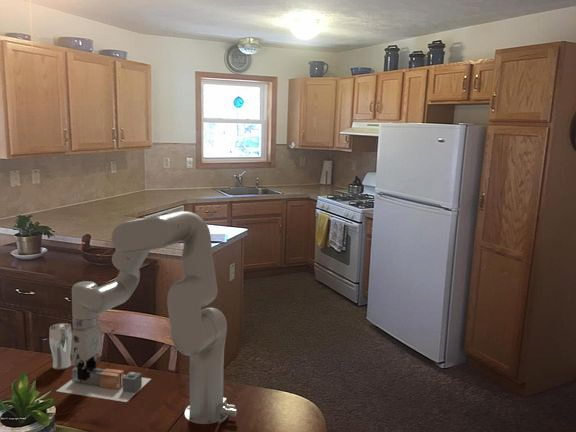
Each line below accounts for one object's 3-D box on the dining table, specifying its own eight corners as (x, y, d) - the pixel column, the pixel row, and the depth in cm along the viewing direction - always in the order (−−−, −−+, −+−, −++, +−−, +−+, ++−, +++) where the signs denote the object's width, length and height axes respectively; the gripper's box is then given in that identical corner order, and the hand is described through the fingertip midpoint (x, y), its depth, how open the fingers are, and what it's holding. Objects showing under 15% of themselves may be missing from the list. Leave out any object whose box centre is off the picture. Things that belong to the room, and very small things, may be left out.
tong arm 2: (124, 382, 156) (124, 370, 156) (121, 385, 154) (120, 373, 154) (79, 376, 159) (78, 364, 159) (75, 379, 158) (74, 367, 157)
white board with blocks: (151, 382, 160) (151, 364, 159) (126, 405, 146) (126, 386, 145) (85, 372, 165) (85, 355, 164) (55, 394, 151) (55, 375, 150)
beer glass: (64, 374, 164) (62, 331, 162) (46, 372, 165) (44, 329, 163) (77, 365, 171) (75, 324, 168) (59, 363, 172) (57, 322, 170)
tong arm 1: (120, 386, 154) (119, 373, 153) (116, 389, 152) (116, 376, 151) (75, 379, 158) (75, 366, 157) (71, 382, 156) (71, 369, 155)
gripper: (79, 332, 145) (81, 390, 148) (111, 313, 161) (112, 366, 164) (57, 329, 146) (59, 387, 149) (91, 311, 162) (92, 363, 165)
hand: (87, 375), depth 156 cm, fingers open, 3 cm apart
